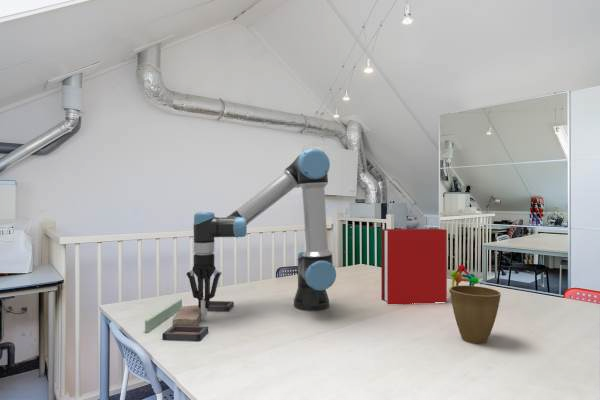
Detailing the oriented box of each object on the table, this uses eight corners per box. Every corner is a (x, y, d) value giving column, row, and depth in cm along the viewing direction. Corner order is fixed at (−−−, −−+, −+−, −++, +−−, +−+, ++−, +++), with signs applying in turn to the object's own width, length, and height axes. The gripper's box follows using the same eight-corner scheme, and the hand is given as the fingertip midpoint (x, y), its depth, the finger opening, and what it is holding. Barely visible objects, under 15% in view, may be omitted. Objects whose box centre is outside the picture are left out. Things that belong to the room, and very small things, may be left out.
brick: (196, 331, 131) (196, 317, 131) (171, 331, 130) (171, 318, 130) (204, 316, 147) (204, 304, 147) (182, 317, 146) (182, 305, 146)
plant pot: (498, 352, 112) (498, 298, 112) (445, 342, 120) (445, 291, 120) (502, 336, 124) (502, 288, 124) (454, 328, 132) (454, 283, 132)
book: (387, 304, 162) (387, 230, 162) (381, 300, 170) (381, 229, 170) (448, 303, 165) (448, 230, 165) (439, 298, 173) (439, 228, 173)
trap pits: (233, 306, 160) (233, 301, 160) (199, 341, 120) (199, 334, 120) (205, 305, 161) (205, 300, 161) (162, 339, 122) (162, 333, 122)
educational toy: (483, 301, 171) (484, 269, 170) (454, 301, 172) (455, 269, 170) (469, 290, 187) (470, 260, 185) (443, 290, 187) (443, 260, 186)
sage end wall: (181, 308, 156) (181, 299, 156) (148, 332, 128) (148, 320, 128) (179, 308, 156) (179, 299, 156) (145, 332, 128) (145, 320, 128)
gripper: (224, 252, 144) (224, 314, 144) (191, 251, 145) (190, 313, 145) (218, 255, 136) (217, 320, 136) (183, 254, 138) (183, 319, 138)
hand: (203, 316), depth 141 cm, fingers closed
